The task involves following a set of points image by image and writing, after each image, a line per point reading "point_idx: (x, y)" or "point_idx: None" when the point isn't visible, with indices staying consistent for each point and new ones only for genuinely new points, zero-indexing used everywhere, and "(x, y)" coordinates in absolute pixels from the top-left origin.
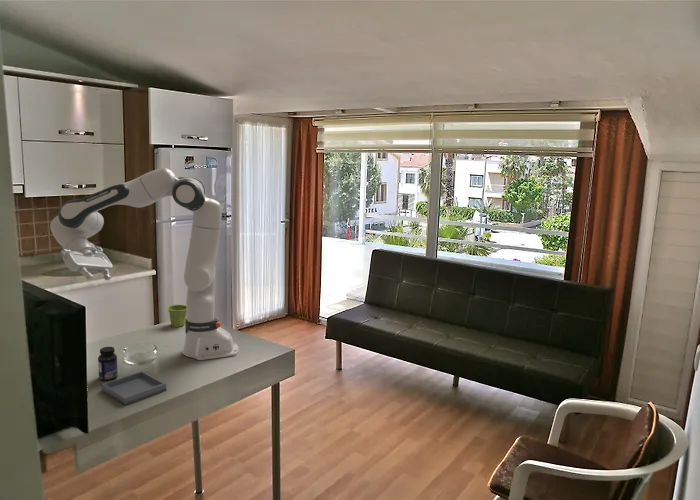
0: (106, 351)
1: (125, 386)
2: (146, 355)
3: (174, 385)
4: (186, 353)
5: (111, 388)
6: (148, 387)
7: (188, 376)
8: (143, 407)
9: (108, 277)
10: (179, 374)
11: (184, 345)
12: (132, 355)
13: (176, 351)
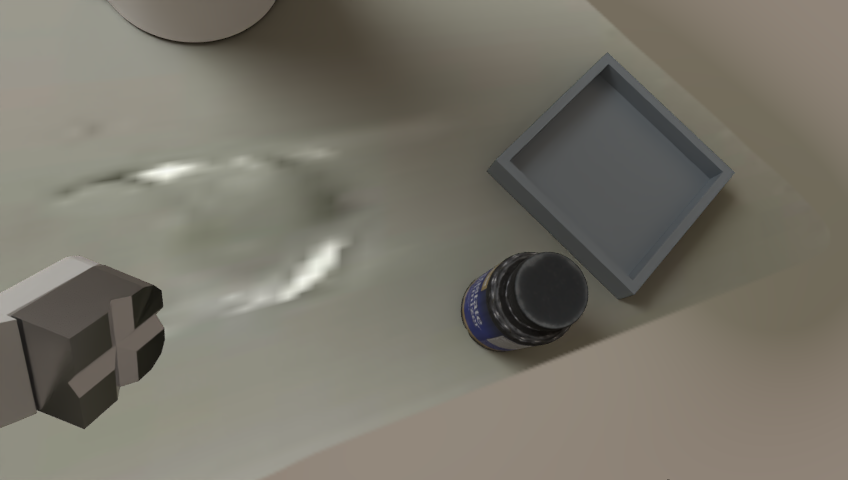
0: (586, 282)
1: (596, 210)
2: (226, 205)
3: (553, 45)
4: (250, 14)
5: (668, 241)
6: (599, 124)
7: (472, 4)
8: (719, 121)
9: (153, 287)
10: (454, 36)
11: (202, 7)
12: (221, 275)
13: (180, 72)
